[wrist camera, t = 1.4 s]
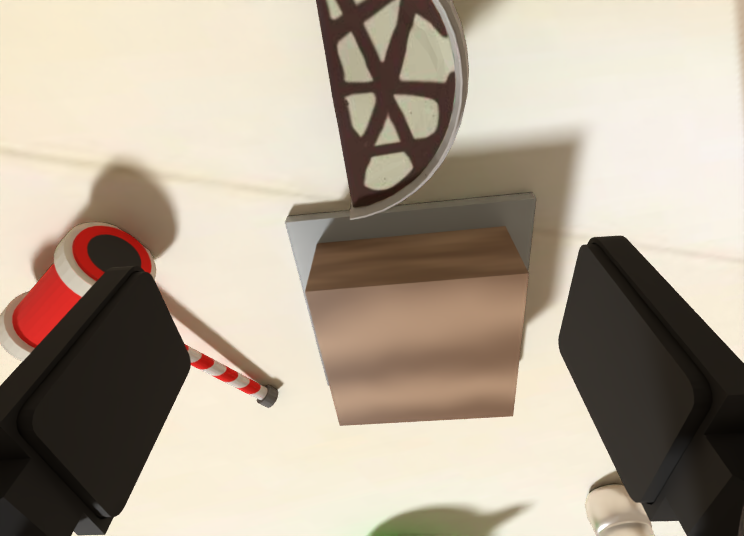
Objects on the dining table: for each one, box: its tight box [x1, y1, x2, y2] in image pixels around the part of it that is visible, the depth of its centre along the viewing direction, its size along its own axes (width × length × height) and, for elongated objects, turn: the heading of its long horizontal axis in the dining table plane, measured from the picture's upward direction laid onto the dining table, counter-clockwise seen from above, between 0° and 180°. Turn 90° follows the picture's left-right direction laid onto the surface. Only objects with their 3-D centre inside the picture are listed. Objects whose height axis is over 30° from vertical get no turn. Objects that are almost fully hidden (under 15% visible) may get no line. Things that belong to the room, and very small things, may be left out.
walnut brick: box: [305, 226, 529, 426], centre depth 33 cm, size 14×14×6 cm
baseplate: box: [285, 192, 536, 386], centre depth 36 cm, size 18×18×1 cm
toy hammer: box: [0, 222, 278, 408], centre depth 36 cm, size 23×12×6 cm, turn 42°
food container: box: [316, 0, 469, 220], centre depth 21 cm, size 12×6×10 cm, turn 8°
